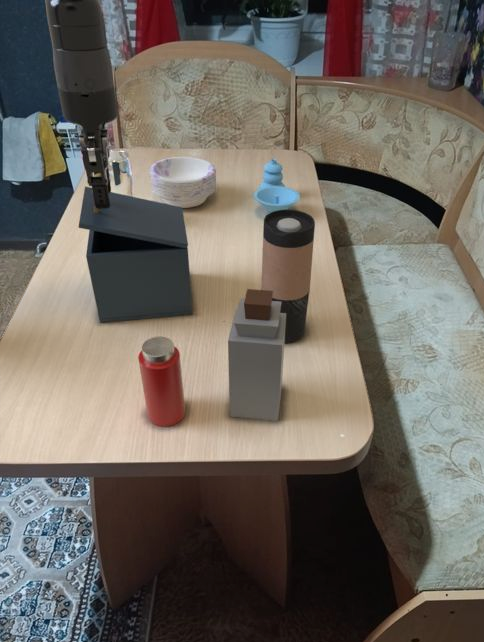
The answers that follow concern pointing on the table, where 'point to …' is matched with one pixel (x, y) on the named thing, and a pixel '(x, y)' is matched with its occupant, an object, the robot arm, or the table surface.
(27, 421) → the table surface
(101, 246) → the chest
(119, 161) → the beer glass
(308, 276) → the travel mug
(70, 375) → the table surface
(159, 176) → the paper bowls
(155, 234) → the lid
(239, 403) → the perfume bottle
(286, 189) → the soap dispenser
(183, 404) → the red bottle
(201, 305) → the table surface
